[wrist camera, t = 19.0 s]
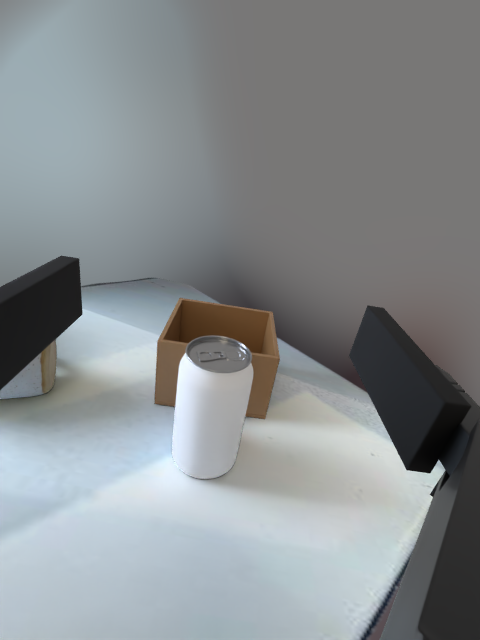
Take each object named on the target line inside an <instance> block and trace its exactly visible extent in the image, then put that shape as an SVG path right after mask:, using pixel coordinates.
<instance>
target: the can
mask: <svg viewBox="0 0 480 640" xmlns="http://www.w3.org/2000/svg"><path fill="white" fill-rule="evenodd" d="M251 361H252V354H251V352H250V350H249V349H248V348H247V347H246V346H245V345H244V344H242V343H241V342H239V341H237V340H235V339H232V338H228V337H224V336H214V335H212V336H202V337H199V338H196V339H194V340H192V341H191V342H189V343H188V345H187V346H186V350H185V354H184V356H183V357H182V359H181V361H180V365H179V371H178V381H177V392H176V404H175V415H174V427H173V440H172V457H173V460H174V462H175V464H176V465H177V467H178V468H179V469H180V470H181V471H183V472H184V473H185V474H187V475H189V476H192V477H194V478H199V479H211V478H216V477H219V476H221V475H223V474H225V473H226V472H228V471H229V470H230V469H231V468H232V466H233V465H234V463H235V460H236V457H237V453H238V448H239V444H240V439H241V434H242V430H243V425H244V420H245V415H246V410H247V406H248V401H249V396H250V391H251V386H252V381H253V367H252V364H251Z"/></svg>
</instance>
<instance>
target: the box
mask: <svg viewBox="0 0 480 640" xmlns="http://www.w3.org/2000/svg"><path fill="white" fill-rule="evenodd" d="M212 335H214V336H224V337H228V338H232V339H235V340H237V341H239V342H241V343H242V344H244V345H245V346H246V347H247V348H248V349H249V350H250V352H251V354H252V361H251V364H252V367H253V381H252V386H251V391H250V396H249V401H248V406H247V410H246V415H245V416H246V417H254V418H261V419H265V417H266V413H267V409H268V405H269V401H270V397H271V393H272V389H273V384H274V380H275V376H276V372H277V368H278V364H279V360H280V357H279V351H278V344H277V338H276V332H275V325H274V318H273V312H269V311H262V310H256V309H249V308H243V307H236V306H229V305H223V304H216V303H210V302H203V301H197V300H190V299H183V298H179V300H178V302H177V304H176V306H175V308H174V310H173V312H172V314H171V316H170V318H169V320H168V322H167V324H166V326H165V328H164V330H163V332H162V334H161V335H160V337H159V339H158V343H157V363H156V384H155V404H159V405H166V406H173V407H175V404H176V392H177V381H178V371H179V365H180V361H181V359H182V357H183V356H184V354H185V350H186V346H187V345H188V343H189V342H191V341H192V340H194V339H196V338H199V337H202V336H212Z"/></svg>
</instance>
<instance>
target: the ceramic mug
mask: <svg viewBox="0 0 480 640" xmlns="http://www.w3.org/2000/svg"><path fill="white" fill-rule="evenodd" d="M56 359H57V351H56V341H55V340H54V341H53V342H52V343H51V344H50V345H49V346H48V347H47V348H45V349H44V350H43V351H42V352H41V353H40V354H39V355H38V356H37V357H36V358H35V359H34V360H33V361H31V362H30V363H29V364H28V365H27V366H26V367H25V368H24V369H23V370H22V371H21V372H20V373H18V374H17V375H16V376H15V377H14V378H13V379H12V380H11V381H10V382H9V383H8V384H7V385H6V386H4V387H3V388H2V389H1V390H0V399H7V398H19V397H31V396H37V395H41V394H45V393H48V392H49V391H50V390H51V389H52V388H53V385H54V381H55V374H56Z"/></svg>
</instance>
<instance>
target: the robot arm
mask: <svg viewBox="0 0 480 640" xmlns="http://www.w3.org/2000/svg"><path fill="white" fill-rule="evenodd" d="M81 315H82V300H81V283H80V267H79V259H78V258H73V257H66V256H60V257H58V258H56V259H54V260H52V261H50V262H48V263H46V264H44V265H42V266H41V267H38V268H36V269H35V270H33V271H31V272H29V273H27V274H25V275H23V276H21V277H19V278H17V279H15V280H13V281H11V282H9V283H7V284H5V285H3V286H1V287H0V390H1V389H2V388H3V387H4V386H6V385H7V384H8V383H9V382H10V381H11V380H12V379H13V378H14V377H15V376H16V375H17V374H18V373H20V372H21V371H22V370H23V369H24V368H25V367H26V366H27V365H28V364H29V363H30V362H31V361H33V360H34V359H35V358H36V357H37V356H38V355H39V354H40V353H41V352H42V351H43V350H44V349H45V348H47V347H48V346H49V345H50V344H51V343H52V342H53V341H54V340H55V339H56V338H57V337H58V336H60V335H61V334H62V333H63V332H64V331H65V330H66V329H67V328H68V327H69V326H70V325H71V324H72V323H74V322H75V321H76V320H77V319H78V318H79V317H80V316H81ZM349 356H350V358H351V360H352V362H353V364H354V366H355V368H356V370H357V372H358V374H359V376H360V378H361V380H362V382H363V384H364V386H365V388H366V390H367V392H368V394H369V396H370V398H371V400H372V402H373V404H374V406H375V408H376V410H377V412H378V414H379V416H380V418H381V420H382V422H383V424H384V426H385V428H386V430H387V432H388V434H389V436H390V438H391V440H392V442H393V444H394V446H395V448H396V450H397V452H398V454H399V456H400V458H401V460H402V462H403V463H404V465H405V467H406V469H407V470H410V471H417V472H425V473H431V471H432V470H433V468H434V466H435V465H436V463H437V461H438V460H440V462H441V463H442V465H443V466H444V468H445V472H444V474H443V475H442V477H441V478H440V480H439V481H438V483H437V484H436V486H435V487H434V489H433V491H432V492H431V494H430V495H431V496H433V499H432V502H431V505H430V507H429V510H428V513H427V515H426V518H425V521H424V523H423V526H422V529H421V531H420V534H419V537H418V539H417V542H416V545H415V547H414V550H413V553H412V555H411V558H410V561H409V563H408V566H407V569H406V571H405V574H404V577H403V579H402V582H401V585H400V587H399V590H398V593H397V595H396V598H395V601H394V603H393V606H392V609H391V611H390V614H389V617H388V619H387V622H386V625H385V627H384V630H383V633H382V635H381V638H380V640H480V407H479V406H478V405H477V404H476V403H475V402H474V401H473V399H472V398H471V397H470V396H469V395H468V394H467V393H465V391H464V390H463V389H462V387H461V386H460V385H458V383H457V382H456V381H455V380H454V379H453V378H452V377H451V376H450V375H449V374H448V373H447V372H445V371H444V370H443V369H441V368H440V367H438V366H437V365H434V364H433V363H432V361H431V360H430V359H429V358H428V357H427V356H426V355H425V354H424V353H423V352H422V350H421V349H420V348H419V347H418V346H417V345H416V344H415V343H414V342H413V340H412V339H411V338H410V337H409V336H408V335H407V334H406V333H405V331H403V329H402V328H401V327H400V326H399V325H398V324H397V322H396V321H395V320H394V319H393V318H392V317H391V316H390V315H389V314H388V312H387V311H386V310H385V309H384V308H380V307H373V306H367V308H366V311H365V314H364V317H363V319H362V322H361V325H360V327H359V330H358V333H357V336H356V338H355V341H354V344H353V346H352V349H351V352H350V355H349Z"/></svg>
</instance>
